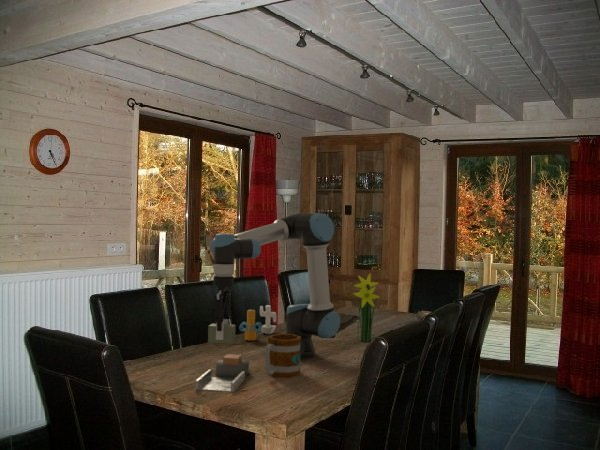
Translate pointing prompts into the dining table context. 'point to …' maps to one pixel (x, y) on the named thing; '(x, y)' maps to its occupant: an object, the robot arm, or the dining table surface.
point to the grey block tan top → (231, 366)
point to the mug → (283, 355)
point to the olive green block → (228, 334)
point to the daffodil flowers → (366, 306)
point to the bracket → (218, 382)
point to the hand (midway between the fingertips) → (221, 337)
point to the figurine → (267, 319)
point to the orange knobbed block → (250, 326)
